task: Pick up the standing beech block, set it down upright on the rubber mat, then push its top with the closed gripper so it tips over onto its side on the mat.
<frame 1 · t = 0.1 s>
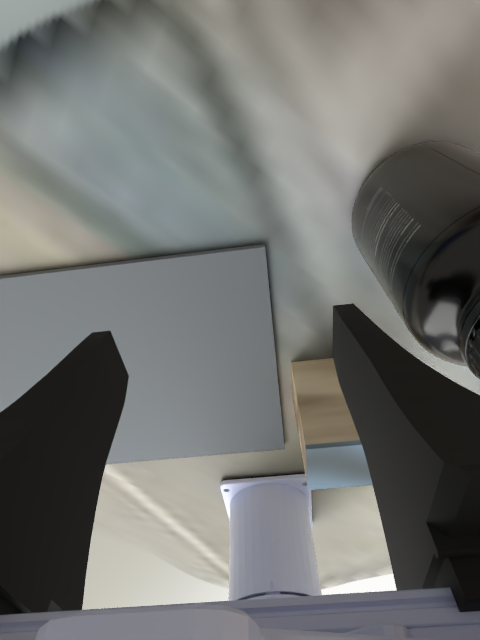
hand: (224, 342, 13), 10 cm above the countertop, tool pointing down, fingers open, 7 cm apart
beech block: (320, 380, 28), on the countertop
supplement bottle: (413, 206, 21), on the countertop
rubber mat: (120, 379, 27), on the countertop
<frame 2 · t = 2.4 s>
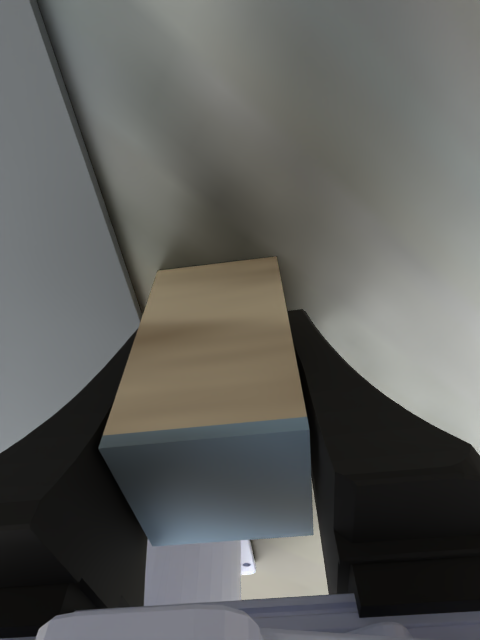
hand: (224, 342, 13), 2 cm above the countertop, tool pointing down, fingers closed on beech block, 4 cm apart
beech block: (225, 312, 14), on the countertop, touching gripper
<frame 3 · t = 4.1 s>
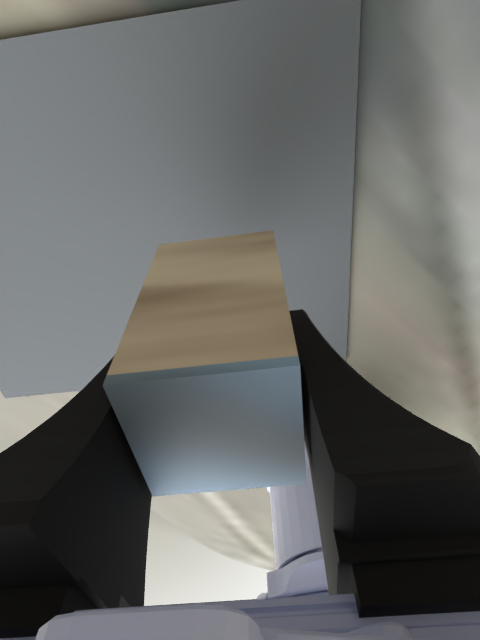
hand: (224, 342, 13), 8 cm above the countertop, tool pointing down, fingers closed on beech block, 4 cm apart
beech block: (224, 287, 15), point 6 cm above the countertop, touching gripper
rubber mat: (130, 249, 20), on the countertop
when the fingers open (3 cm above the countertop, at t = 5.8 s): beech block stays where it is, resting on rubber mat.
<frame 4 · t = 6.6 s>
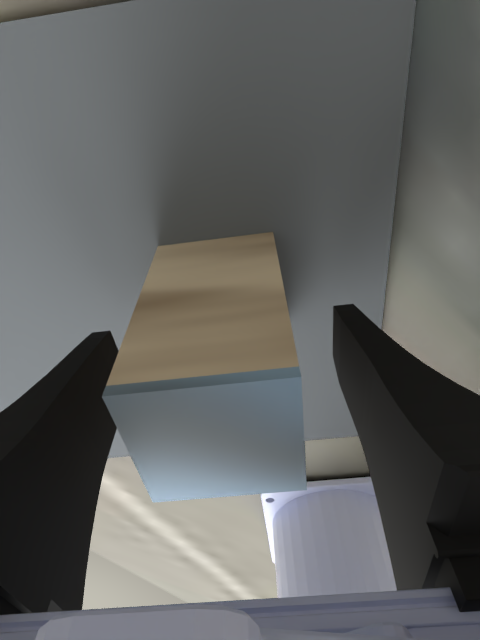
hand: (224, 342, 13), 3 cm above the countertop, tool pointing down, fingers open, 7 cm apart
beech block: (223, 288, 15), resting on rubber mat
rubber mat: (101, 308, 15), on the countertop
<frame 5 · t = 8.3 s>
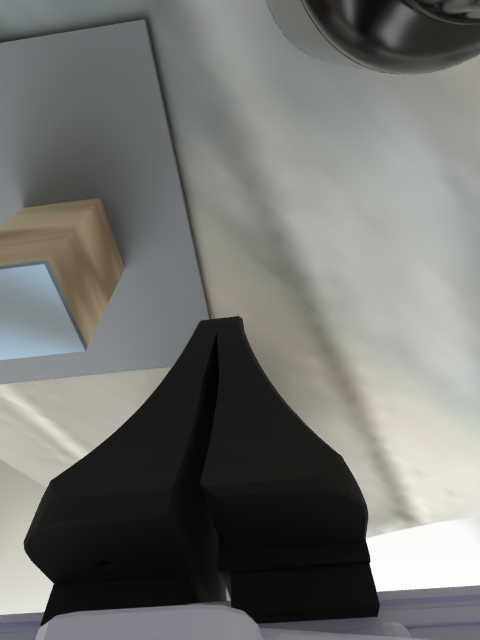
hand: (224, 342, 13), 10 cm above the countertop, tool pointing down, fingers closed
beech block: (76, 239, 21), resting on rubber mat
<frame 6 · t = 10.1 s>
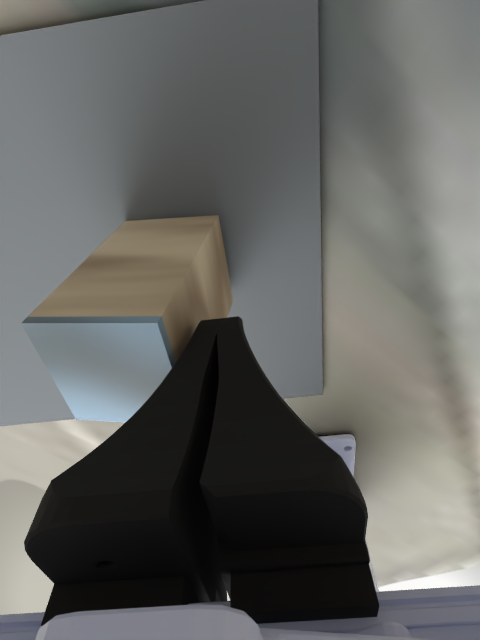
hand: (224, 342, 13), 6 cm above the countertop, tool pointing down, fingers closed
beech block: (181, 262, 17), point 1 cm above the countertop, tilted 11°, touching gripper, rubber mat
rubber mat: (80, 277, 18), on the countertop
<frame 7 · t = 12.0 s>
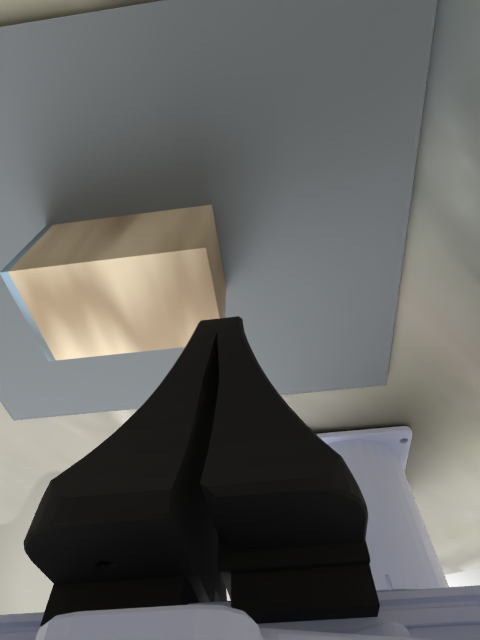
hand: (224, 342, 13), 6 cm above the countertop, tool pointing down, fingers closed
beech block: (217, 271, 15), point 2 cm above the countertop, tilted 90°, touching rubber mat
rubber mat: (156, 262, 18), on the countertop
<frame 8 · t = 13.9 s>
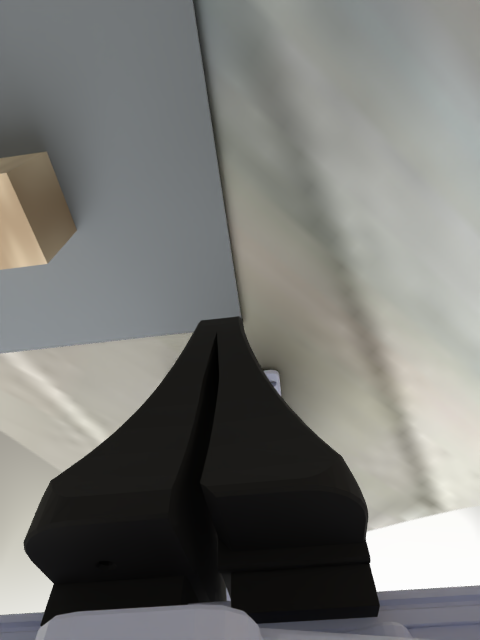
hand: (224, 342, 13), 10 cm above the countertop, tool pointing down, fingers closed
beech block: (47, 206, 18), point 2 cm above the countertop, tilted 90°, touching rubber mat
rubber mat: (14, 207, 21), on the countertop
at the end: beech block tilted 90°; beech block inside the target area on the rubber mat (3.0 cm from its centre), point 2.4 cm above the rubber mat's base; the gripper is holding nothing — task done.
